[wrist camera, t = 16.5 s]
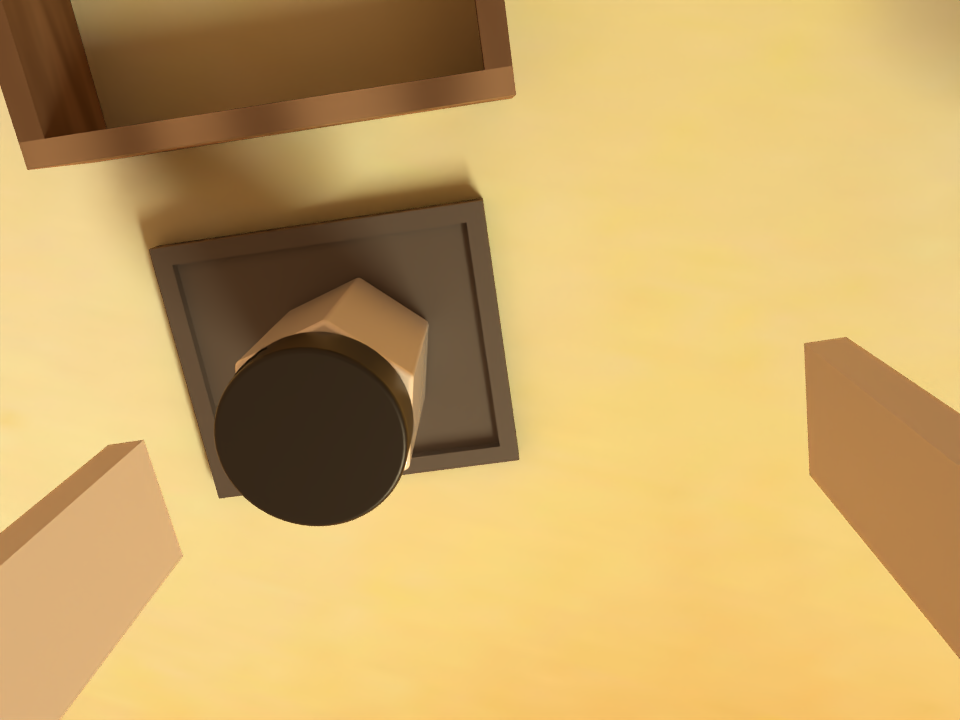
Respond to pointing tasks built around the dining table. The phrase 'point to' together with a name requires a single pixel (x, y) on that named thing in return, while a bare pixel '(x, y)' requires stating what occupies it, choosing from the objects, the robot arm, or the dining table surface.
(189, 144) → the crate
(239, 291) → the tray
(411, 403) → the jar
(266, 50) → the dining table surface
